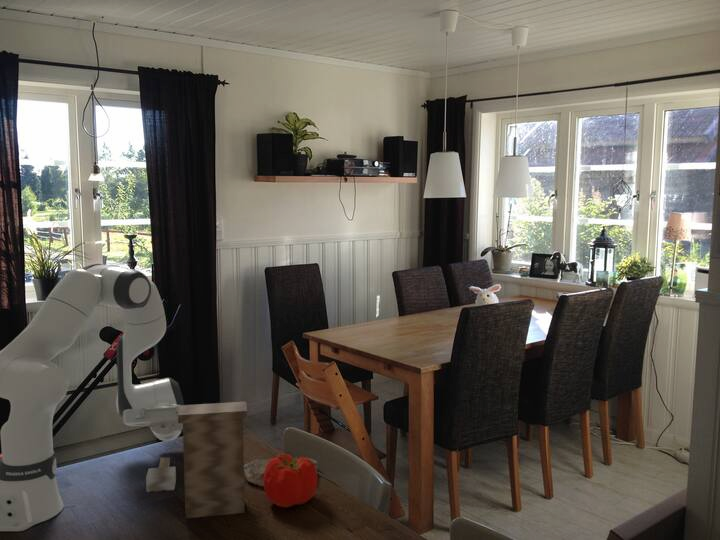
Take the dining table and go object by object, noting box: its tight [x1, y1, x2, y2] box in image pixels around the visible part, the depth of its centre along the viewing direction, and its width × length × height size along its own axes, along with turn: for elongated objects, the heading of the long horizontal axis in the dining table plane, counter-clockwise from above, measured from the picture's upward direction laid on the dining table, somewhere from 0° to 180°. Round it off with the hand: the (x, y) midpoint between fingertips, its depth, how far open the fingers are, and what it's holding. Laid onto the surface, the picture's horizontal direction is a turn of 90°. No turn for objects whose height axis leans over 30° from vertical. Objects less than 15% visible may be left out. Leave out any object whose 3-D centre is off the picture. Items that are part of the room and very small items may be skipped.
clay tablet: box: [244, 457, 319, 488], centre depth 181 cm, size 14×5×20 cm
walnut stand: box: [178, 401, 248, 519], centre depth 161 cm, size 16×7×26 cm, turn 102°
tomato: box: [263, 453, 318, 508], centre depth 167 cm, size 13×14×12 cm
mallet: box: [145, 456, 177, 493], centre depth 180 cm, size 7×16×4 cm, turn 12°
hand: (160, 410), depth 174 cm, fingers open, 8 cm apart
